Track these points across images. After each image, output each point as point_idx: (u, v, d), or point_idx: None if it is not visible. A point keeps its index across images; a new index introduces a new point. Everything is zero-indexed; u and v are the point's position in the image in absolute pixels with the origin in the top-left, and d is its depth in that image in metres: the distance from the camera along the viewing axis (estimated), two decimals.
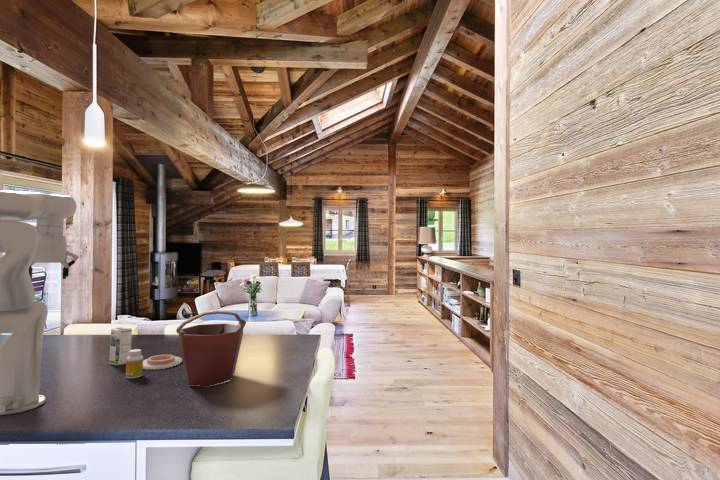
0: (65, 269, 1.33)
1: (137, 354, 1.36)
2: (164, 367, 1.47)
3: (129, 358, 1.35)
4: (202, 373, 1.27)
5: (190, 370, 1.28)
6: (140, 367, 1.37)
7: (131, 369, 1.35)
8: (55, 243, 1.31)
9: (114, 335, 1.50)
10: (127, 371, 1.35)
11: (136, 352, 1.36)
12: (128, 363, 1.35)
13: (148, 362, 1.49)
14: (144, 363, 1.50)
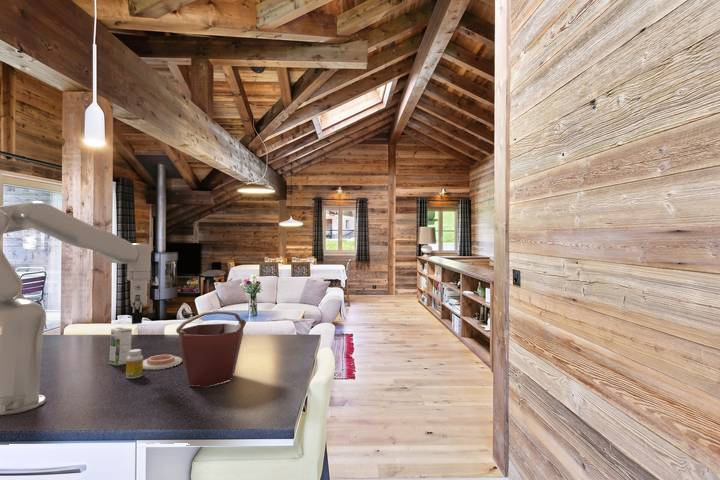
0: None
1: (137, 354, 1.36)
2: (164, 367, 1.47)
3: (129, 358, 1.35)
4: (202, 373, 1.27)
5: (190, 370, 1.28)
6: (140, 367, 1.37)
7: (131, 369, 1.35)
8: None
9: (114, 335, 1.50)
10: (127, 371, 1.35)
11: (136, 352, 1.36)
12: (128, 363, 1.35)
13: (148, 362, 1.49)
14: (144, 363, 1.50)
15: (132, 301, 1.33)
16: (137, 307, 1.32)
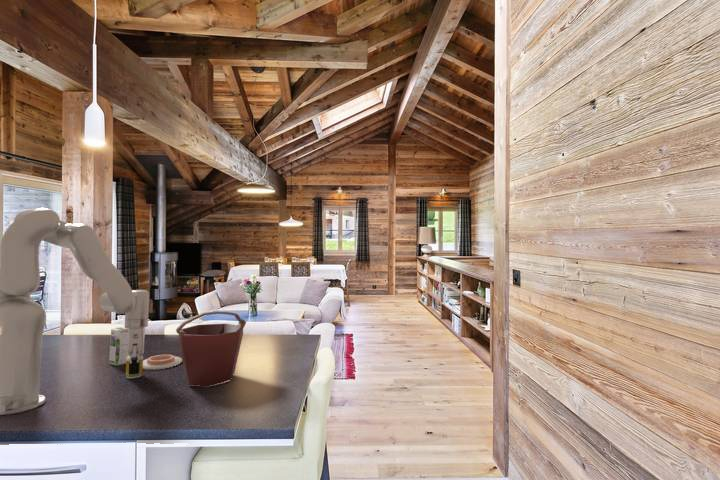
0: None
1: None
2: (164, 367, 1.47)
3: (129, 358, 1.35)
4: (202, 373, 1.27)
5: (190, 370, 1.28)
6: (140, 367, 1.37)
7: None
8: None
9: (114, 335, 1.50)
10: (127, 371, 1.35)
11: None
12: (128, 363, 1.35)
13: (148, 362, 1.49)
14: (144, 363, 1.50)
15: (129, 350, 1.33)
16: (134, 359, 1.32)
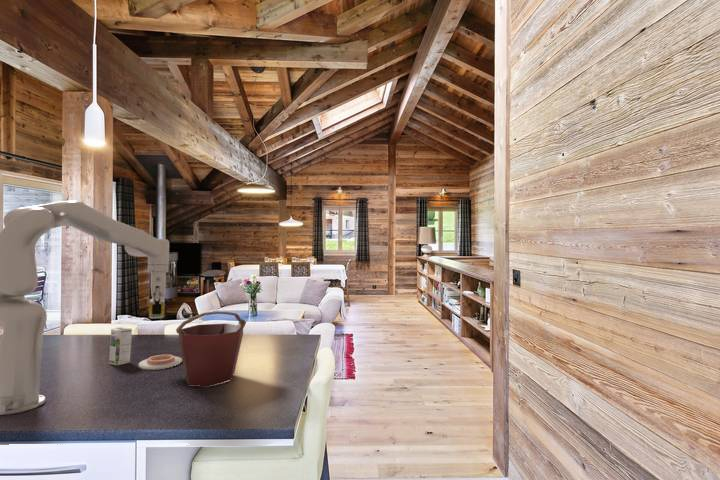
0: None
1: None
2: (164, 367, 1.47)
3: (152, 300, 1.47)
4: (202, 373, 1.27)
5: (190, 370, 1.28)
6: (162, 309, 1.49)
7: None
8: None
9: (114, 335, 1.50)
10: (150, 312, 1.47)
11: None
12: (151, 304, 1.47)
13: (148, 362, 1.49)
14: (144, 363, 1.50)
15: (152, 292, 1.45)
16: (157, 300, 1.44)
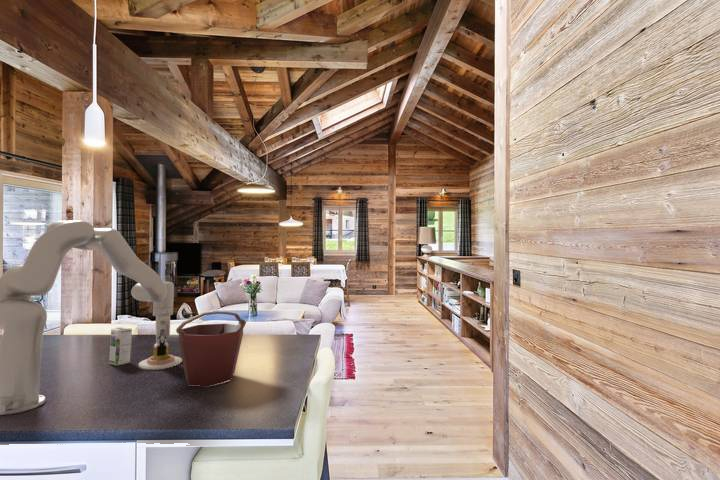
0: None
1: None
2: (164, 367, 1.47)
3: (156, 345, 1.51)
4: (202, 373, 1.27)
5: (190, 370, 1.28)
6: (166, 353, 1.52)
7: None
8: None
9: (114, 335, 1.50)
10: (155, 356, 1.50)
11: None
12: (156, 349, 1.50)
13: (148, 362, 1.49)
14: (144, 363, 1.50)
15: (157, 335, 1.48)
16: (162, 341, 1.47)
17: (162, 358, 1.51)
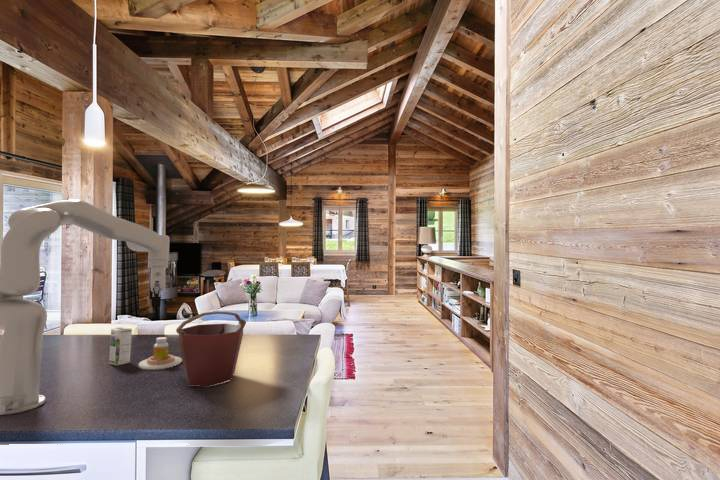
0: None
1: (163, 341, 1.52)
2: (164, 367, 1.47)
3: (156, 345, 1.51)
4: (202, 373, 1.27)
5: (190, 370, 1.28)
6: (166, 353, 1.52)
7: (159, 355, 1.50)
8: None
9: (114, 335, 1.50)
10: (155, 356, 1.50)
11: (163, 339, 1.52)
12: (156, 349, 1.50)
13: (148, 362, 1.49)
14: (144, 363, 1.50)
15: (152, 286, 1.47)
16: (157, 291, 1.45)
17: (162, 358, 1.51)
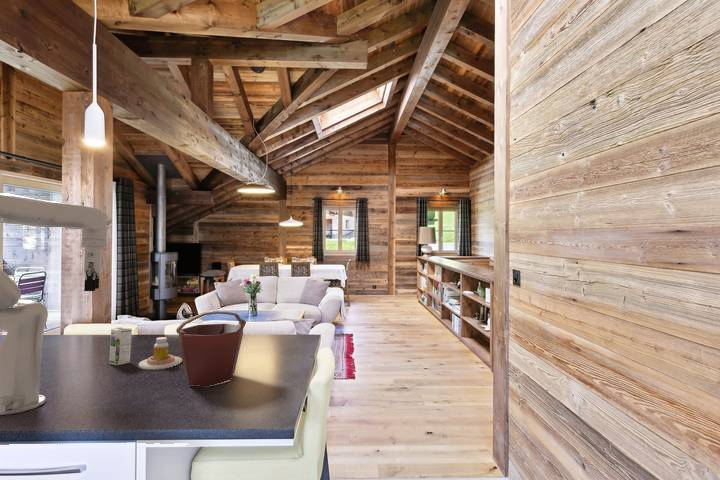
0: None
1: (163, 341, 1.52)
2: (164, 367, 1.47)
3: (156, 345, 1.51)
4: (202, 373, 1.27)
5: (190, 370, 1.28)
6: (166, 353, 1.52)
7: (159, 355, 1.50)
8: None
9: (114, 335, 1.50)
10: (155, 356, 1.50)
11: (163, 339, 1.52)
12: (156, 349, 1.50)
13: (148, 362, 1.49)
14: (144, 363, 1.50)
15: (85, 268, 1.32)
16: (89, 274, 1.30)
17: (162, 358, 1.51)
